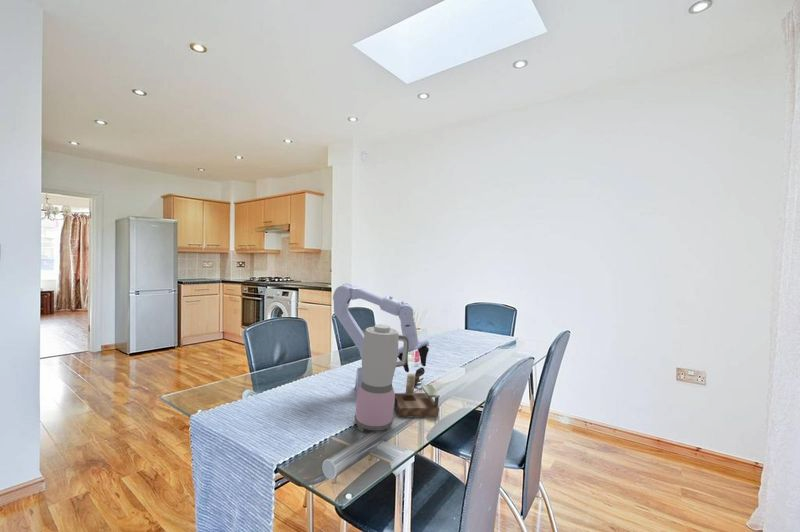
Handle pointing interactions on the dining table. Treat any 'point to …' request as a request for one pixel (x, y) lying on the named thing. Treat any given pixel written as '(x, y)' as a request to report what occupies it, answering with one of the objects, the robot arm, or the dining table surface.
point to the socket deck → (418, 403)
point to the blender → (379, 377)
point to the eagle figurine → (419, 374)
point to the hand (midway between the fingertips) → (415, 368)
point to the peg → (410, 383)
